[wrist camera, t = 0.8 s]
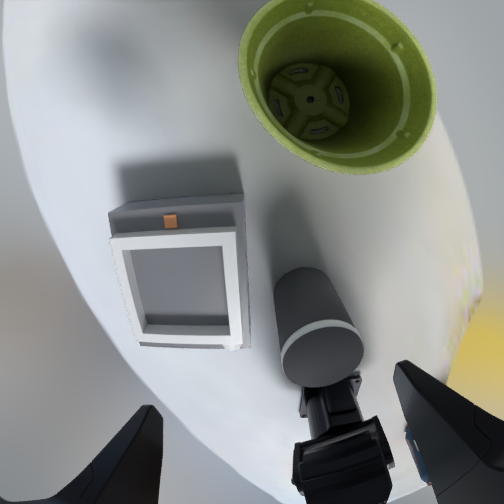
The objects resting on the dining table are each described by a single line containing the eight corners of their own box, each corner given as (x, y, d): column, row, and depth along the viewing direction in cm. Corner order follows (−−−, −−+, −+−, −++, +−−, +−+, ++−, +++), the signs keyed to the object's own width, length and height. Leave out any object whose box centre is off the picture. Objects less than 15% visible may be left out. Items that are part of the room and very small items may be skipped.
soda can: (444, 412, 32) (469, 462, 21) (415, 436, 34) (435, 485, 23) (427, 408, 31) (454, 465, 19) (395, 434, 33) (416, 489, 21)
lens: (329, 317, 23) (355, 382, 16) (272, 321, 24) (280, 390, 16) (335, 265, 22) (371, 322, 14) (272, 268, 22) (282, 330, 14)
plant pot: (344, 35, 15) (392, -15, 7) (384, 146, 18) (456, 152, 10) (225, 62, 16) (207, 8, 8) (270, 180, 19) (283, 203, 11)
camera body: (250, 322, 23) (250, 358, 19) (152, 321, 24) (136, 354, 19) (244, 193, 20) (241, 206, 15) (128, 202, 20) (99, 217, 15)
